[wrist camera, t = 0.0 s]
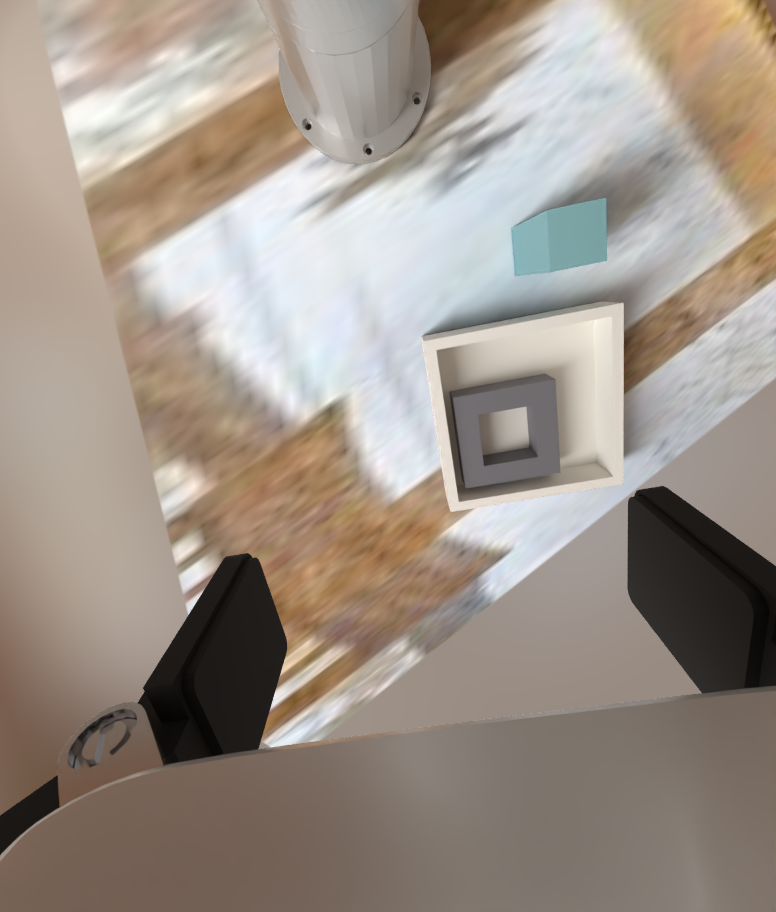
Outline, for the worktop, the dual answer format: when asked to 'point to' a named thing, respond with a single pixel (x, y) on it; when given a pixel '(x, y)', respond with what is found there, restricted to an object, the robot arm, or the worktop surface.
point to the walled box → (529, 405)
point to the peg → (561, 238)
